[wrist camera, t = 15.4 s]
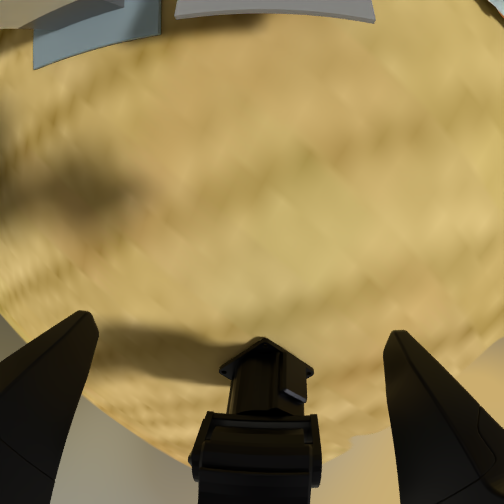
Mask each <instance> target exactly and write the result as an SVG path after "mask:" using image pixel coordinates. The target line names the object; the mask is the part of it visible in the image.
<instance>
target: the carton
mask: <svg viewBox="0 0 504 504" xmlns="http://www.w3.org/2000/svg"><path fill="white" fill-rule="evenodd" d="M250 13H276V14H300V15H314V16H324V17H333V18H341V19H348V20H355V21H361V22H367V23H372V24H374V22H375V20H376V19H375V14H374V10H373V5H372V1H371V0H177V5H176V9H175V14H174V17H175V18H176V20H177V19H185V18H193V17H202V16H212V15H226V14H250Z"/></svg>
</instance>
